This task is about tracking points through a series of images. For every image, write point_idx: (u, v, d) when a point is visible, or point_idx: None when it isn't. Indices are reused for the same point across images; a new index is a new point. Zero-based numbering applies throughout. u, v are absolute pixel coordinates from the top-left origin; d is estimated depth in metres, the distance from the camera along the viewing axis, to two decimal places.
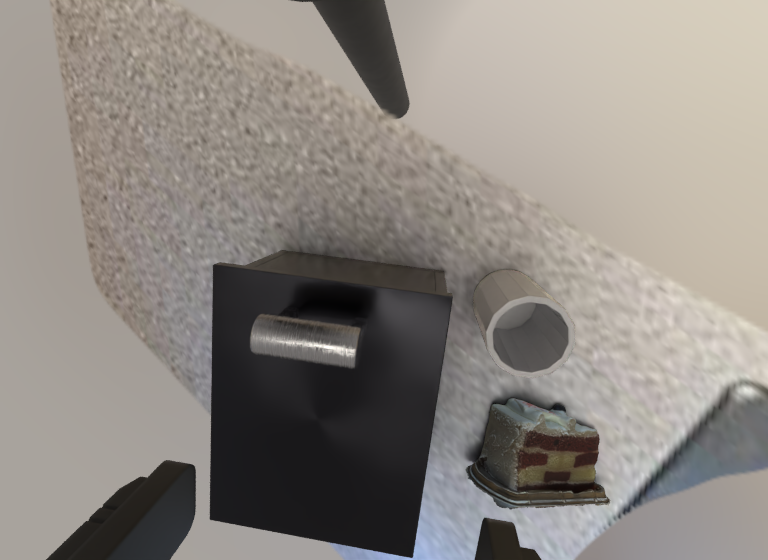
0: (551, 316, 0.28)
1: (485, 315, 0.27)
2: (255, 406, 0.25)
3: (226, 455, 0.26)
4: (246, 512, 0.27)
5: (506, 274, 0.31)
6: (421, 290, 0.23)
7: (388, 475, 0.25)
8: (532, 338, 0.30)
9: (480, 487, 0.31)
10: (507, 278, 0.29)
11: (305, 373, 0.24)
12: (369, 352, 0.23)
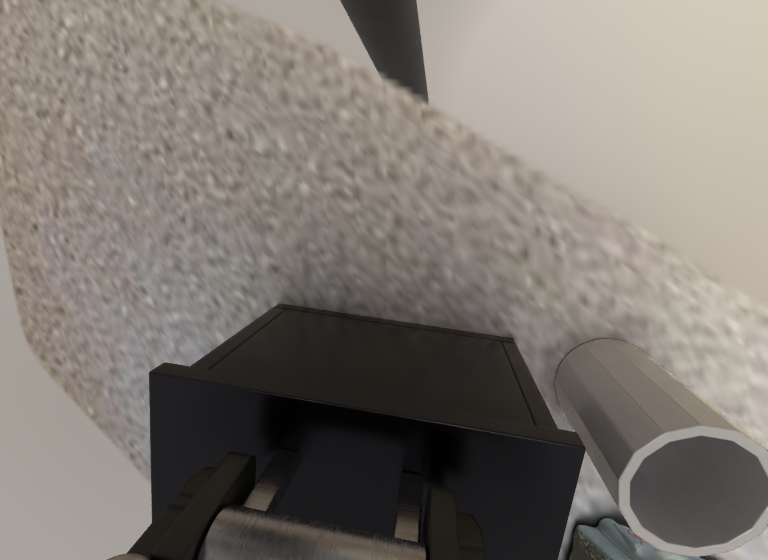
0: None
1: (605, 438, 0.16)
2: None
3: None
4: None
5: (616, 353, 0.20)
6: (521, 427, 0.12)
7: None
8: (661, 456, 0.19)
9: None
10: (624, 363, 0.19)
11: None
12: None
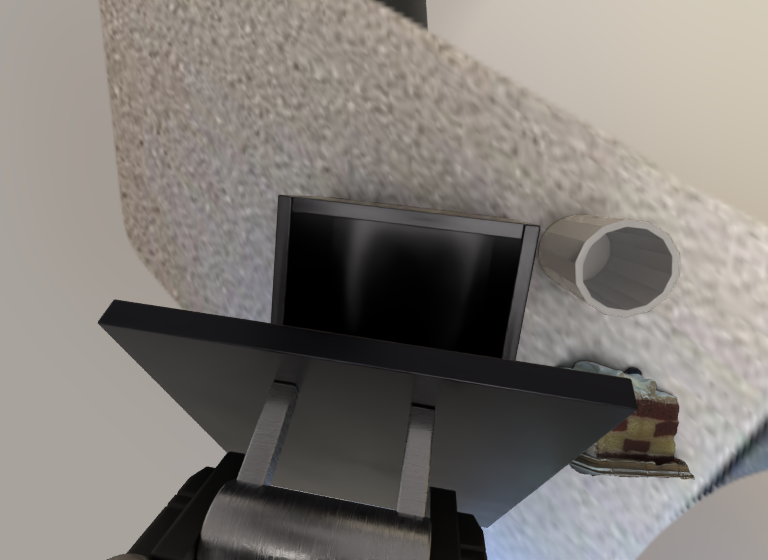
0: (639, 255, 0.25)
1: (568, 250, 0.24)
2: None
3: None
4: (293, 485, 0.23)
5: (581, 215, 0.28)
6: (558, 376, 0.10)
7: (463, 498, 0.19)
8: (613, 284, 0.27)
9: None
10: (585, 217, 0.26)
11: (331, 434, 0.15)
12: (438, 434, 0.13)
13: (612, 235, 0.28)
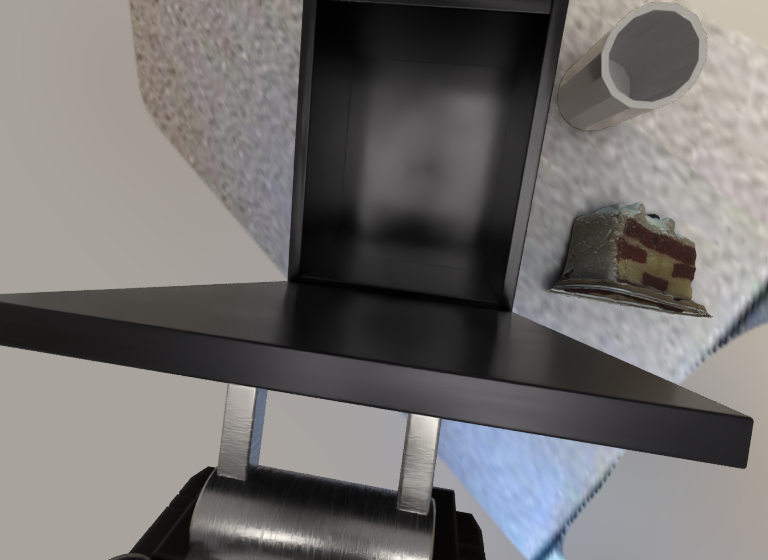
0: (662, 68, 0.25)
1: (593, 54, 0.24)
2: None
3: None
4: None
5: None
6: (632, 417, 0.06)
7: None
8: None
9: (572, 287, 0.28)
10: None
11: None
12: None
13: (633, 67, 0.28)
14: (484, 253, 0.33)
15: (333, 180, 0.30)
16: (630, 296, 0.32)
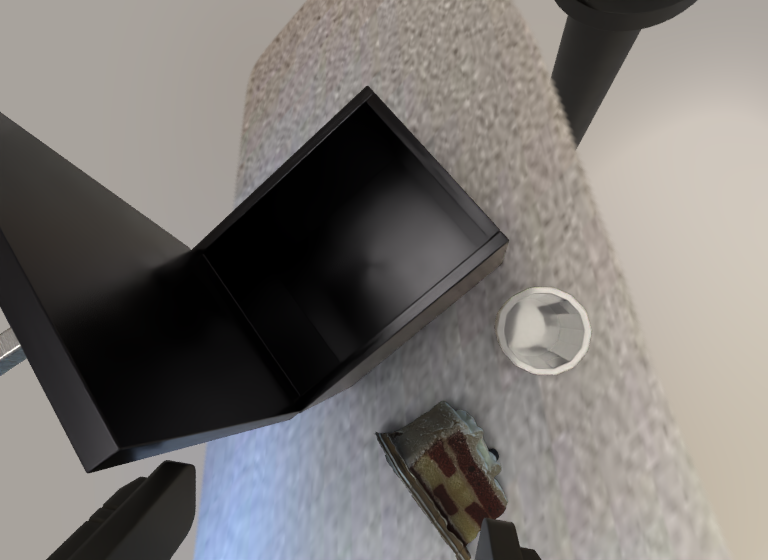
0: (565, 349, 0.27)
1: None
2: None
3: None
4: None
5: None
6: (72, 389, 0.09)
7: None
8: (531, 360, 0.29)
9: (380, 442, 0.29)
10: None
11: None
12: None
13: (562, 332, 0.30)
14: None
15: (303, 218, 0.34)
16: None
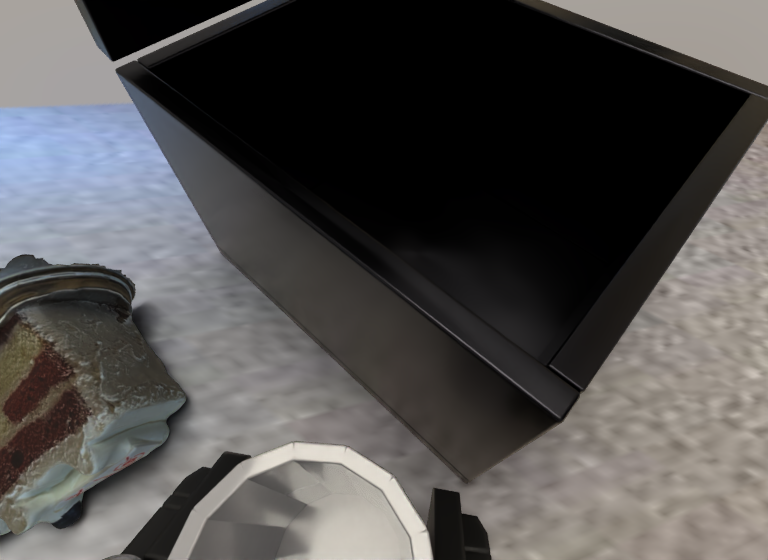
0: None
1: None
2: None
3: None
4: None
5: None
6: None
7: None
8: None
9: (88, 267, 0.16)
10: None
11: None
12: None
13: None
14: None
15: (473, 132, 0.21)
16: None
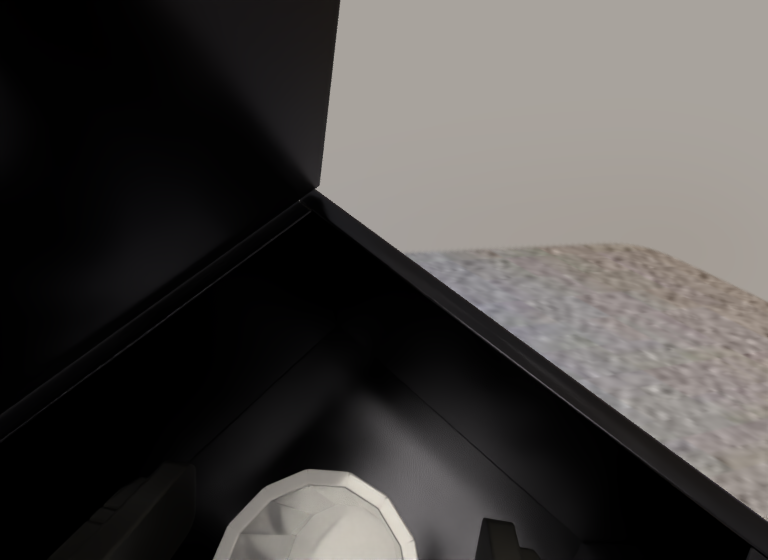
0: None
1: None
2: None
3: None
4: None
5: None
6: None
7: None
8: None
9: None
10: None
11: None
12: None
13: None
14: None
15: (422, 374, 0.18)
16: None
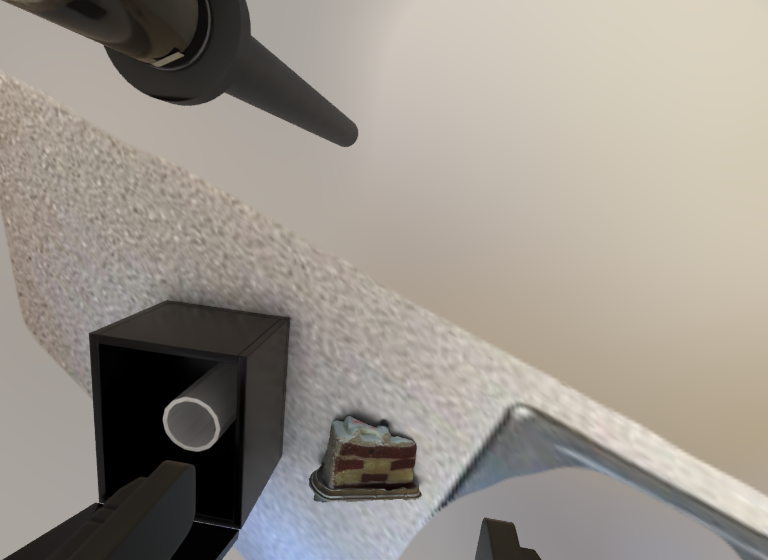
0: None
1: None
2: None
3: None
4: None
5: (219, 366, 0.41)
6: None
7: None
8: None
9: (311, 486, 0.41)
10: (212, 371, 0.40)
11: None
12: None
13: None
14: None
15: (151, 404, 0.42)
16: None
